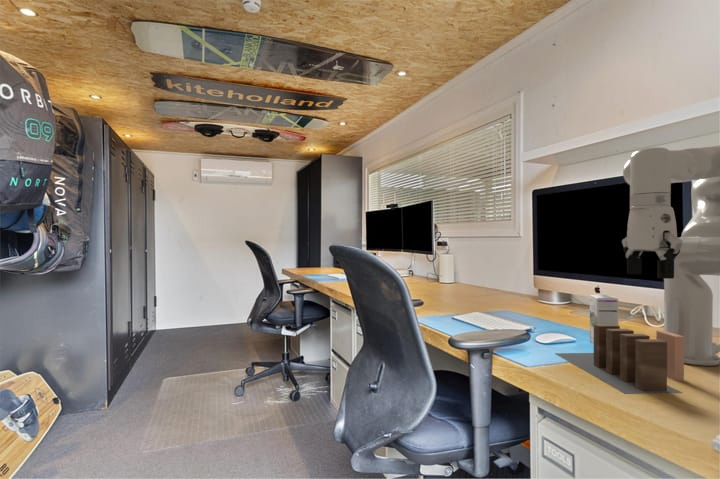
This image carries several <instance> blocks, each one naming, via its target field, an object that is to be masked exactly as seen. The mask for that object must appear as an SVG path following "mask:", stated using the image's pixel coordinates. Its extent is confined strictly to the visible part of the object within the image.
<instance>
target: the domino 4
mask: <svg viewBox="0 0 720 479" xmlns="http://www.w3.org/2000/svg"><path fill="white" fill-rule="evenodd" d="M667 385H668V377H667V342H666V341H663V340H660V339H656V338H655V339H651V338H650V339H639V340H636V355H635V387H636V388H638V389H640V390H641V391H667Z"/></svg>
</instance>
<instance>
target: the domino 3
mask: <svg viewBox="0 0 720 479" xmlns="http://www.w3.org/2000/svg"><path fill="white" fill-rule="evenodd" d="M639 339H651V338H650V335H648V334H644V333H634V334H620V379H621V380H623V381H624V382H626V383H635V355H636V340H639Z"/></svg>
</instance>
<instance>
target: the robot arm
mask: <svg viewBox="0 0 720 479" xmlns="http://www.w3.org/2000/svg"><path fill="white" fill-rule="evenodd" d="M622 170H623V171H622V174H623V179H624V181H625V182H626V184H627V185H629V213H628V220H627V229H626V237H625V238H623V239H622V240H621V243H622V246H623V251H624V254H625V258H626V273H627V275H641V274H642V272H643V271H642V268H643V259H642V257H641V255H642V254H643V252H655V253H656V255H657V256H658V258H659V259H657V267H656V268H657V269H656V270H657V271H656V272H657V275H656V277H657V279H663V286H664V288H663V290H664V291H663V292H664V293H663V294H664V297H663V301H664V302H663V310H664V311H663V315H664V316H663V322H664V323H663V325H664V327H663V331H667V332H671V333H674V334H677V335H681V336H684V364H687V365H696V366H706V367H710V366H713V367H714V366H718V365H720V357H719V356H718V355H717V354H718V353H720V344H717V343H716V342H713V311H714V309H713V304H714V303H713V301H714V298H713V297H714V296H713V295H714V294H713V292H712V291H713V290H712V289H711V287H710V286H709V284H708V283H707V282H706V281H705V279H703V277H702V276H717V277H718V276H719V277H720V144H719V145H714V146H707V147H706V146H703V147H692V148H685V149H677V150H674V149H673V150H672V149H671V150H669V149H668V148H666V147H649V148H648V147H647V148H642V149H638V150H635V151H634V152H633V153H632V154H631V156H630V159H629V160H627V161H626V163H625V164H624V166H623V169H622ZM685 182H686V183H687V182H694V183H693V184H692V186H691V191H690V192H691V193H690V196H691V198H690V199H691V206H692V209H693V213H694V215H692V217H691V219H690V220H688V221H689V222H687V224H686V225H685V227H684V228H683V230H682V232H681V236H680V237H678V230H677V221H676V215H675V211H674V208H673V207H672V206H671V198H672V197H671V195H672V192H671V190H672V188H671V187H672V184H675V183H685Z"/></svg>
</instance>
